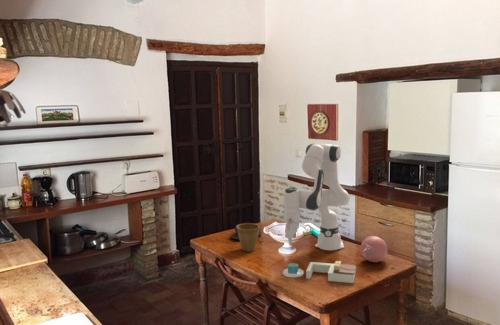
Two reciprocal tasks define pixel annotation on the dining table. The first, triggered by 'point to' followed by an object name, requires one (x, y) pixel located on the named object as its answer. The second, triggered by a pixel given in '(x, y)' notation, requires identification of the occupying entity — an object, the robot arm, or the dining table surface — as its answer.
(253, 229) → the plant pot
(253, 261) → the dining table surface
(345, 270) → the lid
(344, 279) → the board
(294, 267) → the block
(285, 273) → the plate
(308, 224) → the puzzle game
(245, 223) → the casserole
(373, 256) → the pink round piece
